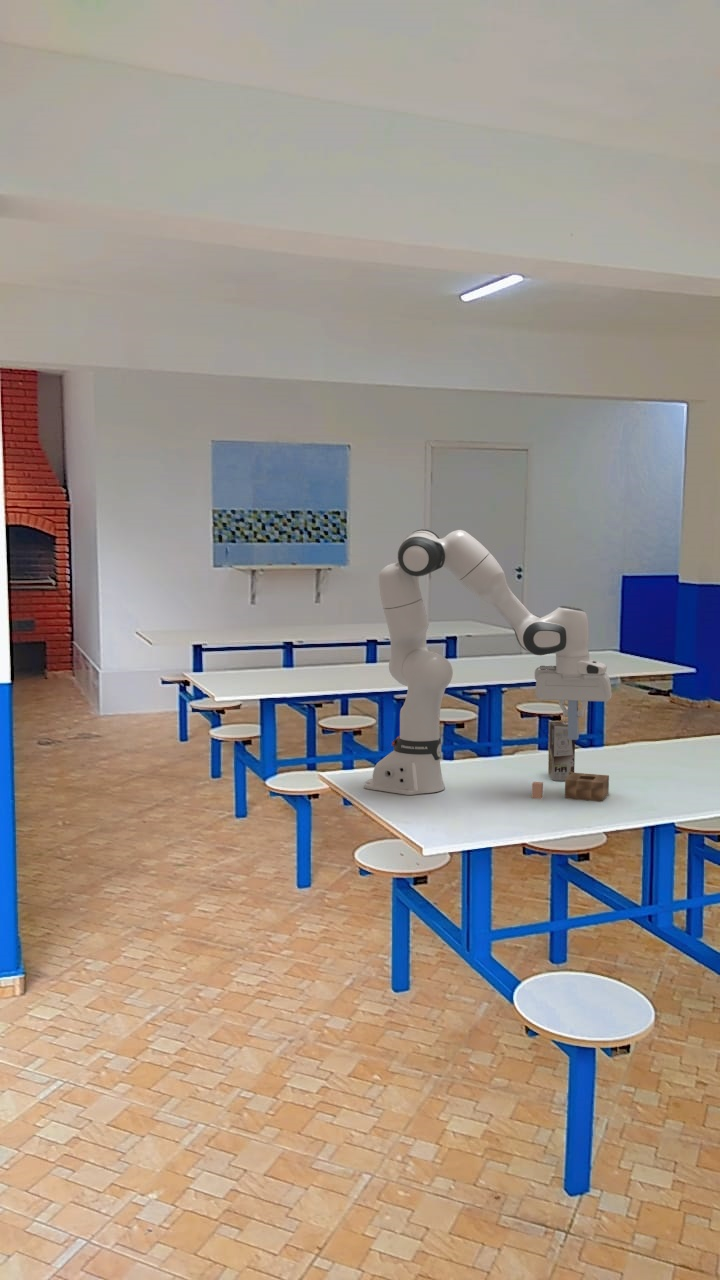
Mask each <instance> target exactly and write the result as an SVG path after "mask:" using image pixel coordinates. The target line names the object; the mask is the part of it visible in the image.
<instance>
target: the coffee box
mask: <svg viewBox="0 0 720 1280" xmlns="http://www.w3.org/2000/svg"><path fill="white" fill-rule="evenodd" d="M575 750H576V740H568V721H548V764H547V765H548V776H549V777H550V778H551V780H552V781H558V782H559V781H562V782H563V781H564V782H565V780H566V778H567V777H568V776H569V775H570V774H571V773H575V759H576V758H575V757H576V753H575V752H576V751H575Z"/></svg>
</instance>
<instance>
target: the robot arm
mask: <svg viewBox="0 0 720 1280" xmlns="http://www.w3.org/2000/svg"><path fill="white" fill-rule="evenodd" d="M441 568H446V569H447V570H448V571H450V572H451V573H452V574H453V576H455V577H456V579H457V580H459V582H460V583H461V584H462V585H463V586H464V588H466V589H467V590H469V592H471V593H472V594H474V595H475V596H476V597H478V598H480V599H481V600H484V601H486V602H487V603H489V604H490V605H491V606H493V607H494V608H495V609H496V610H497V611H498V613H499V614H500V615H501V616H502V617H503V618H504V619H505V620H506V621H507V623H508V624H509V625H510V626H511V628H512V630H513V631H514V634H515V638H516V641H517V642H518V645H519V646H520V648H522V649H523V650H525V651H526V652H529V653H530V654H531V655H535V656H546V655H550V654H555V665H540V666H539V667H536V669H535V670H534V680H535V681H536V682H535V689H534V691H535V692H534V693H535V694H534V697H535V698H536V699H537V700H540V701H541V700H542V701H543V700H544V701H545V700H546V701H558V706H559V708H560V709H561V710H562V717H565V718H568V708H566V706H565V705H564V704H566V701H568V700H572V701H578V702H579V701H580V705H582V706H581V708H580V709H578V711H577V717H578V718H584V715H585V713H584V711H585V709H586V707H587V706H588V704H589V703H588V702H609V701H610V700H611V698H612V695H613V694H612V684H611V679H610V676H609V675H608V673H606V672H607V664H605V663H604V662H600V661H597V660H593V659H590V652H589V646H588V645H589V641H590V631H589V630H590V626H589V620H588V615H587V613H586V611H584V610H583V609H582V608H579V607H575V606H573V607H572V606H568V605H560V606H559V607H557V608H556V609H555V610H553V611H551V612H550V613H548V614H546V615H544V616H542V617H540V616H538V615H535V614H534V613H532V612H531V611H530V610H528V608H526V606H524V604H523V603H522V602H521V600H520V599H518V598H517V596H516V595H515V594H514V593H513V592H512V590H511V588H510V587H509V585H508V582H507V579H506V574H505V571H504V569H503V568H502V566H501V565H500V563H499V562H498V561H497V559H496V558H495V556H494V555H493V554H492V553H491V552H490V551H489V550H488V549H487V548H486V547H485V546H484V545H483V544H482V543H481V542H480V541H478V539H476V538H475V537H473V536H472V535H471V534H470V533H469V532H467V531H465V530H463V529H456V530H453V531H451V532H449V533H448V534H447V535H445V536H444V537H442V538H440V537H439V535H437V533H435V532H433V531H432V530H429V529H422V528H421V529H418V530H415V531H413V532H412V533H410V534H409V535H407V536H406V537H405V538H404V539H403V541H402V543H401V545H400V546H399V548H398V551H397V561H395V562H392V563H389V564H388V565H386V566H384V567H383V568H382V569H381V570H380V571H379V574H378V586H379V594H380V601H381V605H382V608H383V609H382V610H383V613H384V616H385V620H386V623H387V628H388V632H389V637H390V659H389V662H388V670H389V673H390V675H391V676H392V677H393V679H395V680H396V681H397V683H399V684H400V685H402V686H404V687H405V686H406V687H407V692H406V696H405V701H404V703H403V705H402V707H401V708H400V711H399V735H398V736H396V738H395V739H393V741H391V743H392V744H391V746H393V751H391V752H389V753H388V754H387V755H386V756H385V757H383V758H382V759H380V760H379V761H378V762H377V763H376V764H375V766H374V768H373V771H372V772H373V773H372V778H370V779H368V780H366V781H365V782H364V789H366V790H374V791H380V792H386V793H387V792H388V793H393V794H399V795H407V796H411V795H412V796H413V795H419V794H430V793H436V792H437V793H438V792H440V791H443V790H445V788H446V785H445V783H444V780H443V774H442V765H441V758H442V757H441V756H442V739H441V737H440V717H441V716H440V714H441V706H442V702H443V698H444V694H445V691H446V689H447V687H448V686H449V685H450V683H451V682H452V679H453V676H454V675H453V674H454V673H453V667H452V664H451V663H450V661H449V660H448V659H447V658H446V657H444V656H443V655H442V654H440V653H438V652H435V651H431V650H428V649H429V648H428V646H427V645H428V644H427V630H428V629H429V619H428V616H427V612H426V609H425V604H424V600H423V596H422V593H421V589H420V584H419V583H420V582H419V580H420V577H424V576H427V575H428V574H429V575H430V574H431V573H432V572H434V571H435V572H436V571H438V570H439V569H441Z"/></svg>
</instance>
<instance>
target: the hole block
mask: <svg viewBox="0 0 720 1280" xmlns="http://www.w3.org/2000/svg"><path fill="white" fill-rule="evenodd" d="M564 782H565V783H564V798H565V799H570V800H571V799H572V800H580V801H581V800H582V801H593V802H601V803H603V802H604V800H605V799H606V798H607V796H608V795H609V791H610V788H609V787H610V786H609V785H610V784H609V783H610V775H608V774H596V773H595V774H593V773H581V772H574V773H571V774H570V775H569V776H568V777H567V778H566V780H565V781H564Z"/></svg>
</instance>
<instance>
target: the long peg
mask: <svg viewBox="0 0 720 1280" xmlns="http://www.w3.org/2000/svg"><path fill="white" fill-rule="evenodd" d="M567 709H568V717H567V722H568V740H575V741H578V740H579V738H580V737H579V736H580V733H579V732H580V731H579V729H580V728H579V725H580V724H579V723H580V722H579V717H577V711H578V710H579V701H572V700H567Z"/></svg>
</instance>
